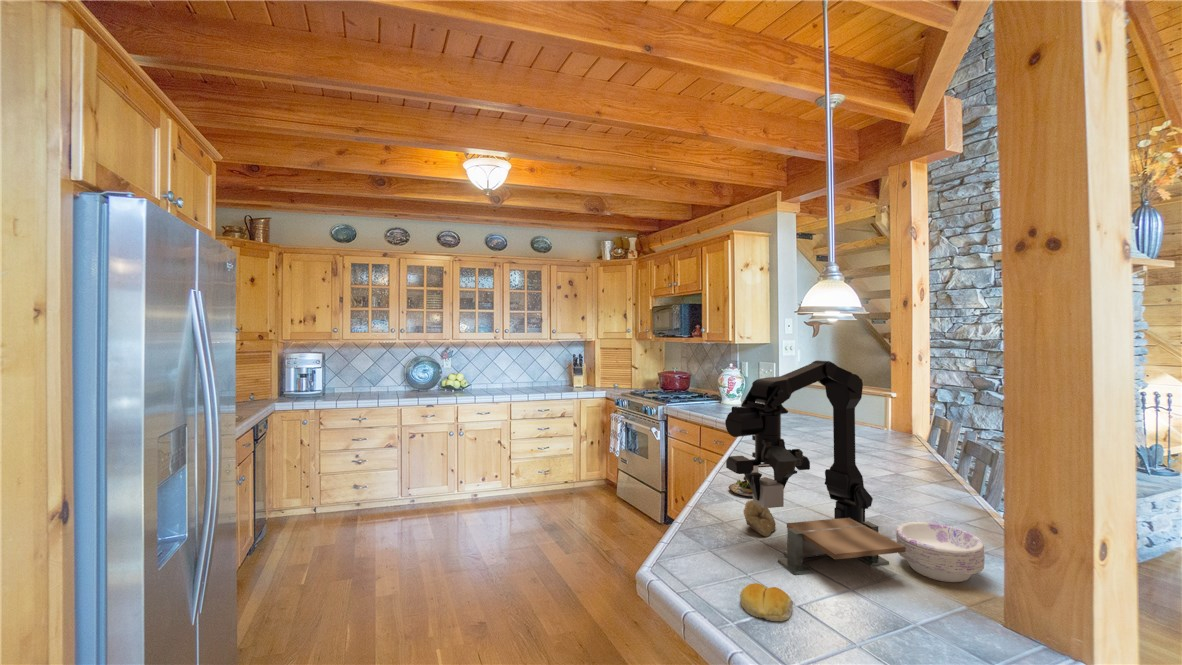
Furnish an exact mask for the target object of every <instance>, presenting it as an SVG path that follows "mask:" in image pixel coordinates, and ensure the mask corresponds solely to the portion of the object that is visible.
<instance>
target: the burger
mask: <svg viewBox="0 0 1182 665" xmlns="http://www.w3.org/2000/svg"><path fill="white" fill-rule="evenodd" d="M742 479H743V480H740V479H738V480H737V481H736V482H735V483H732V484H730V485H729V486H728V489H730V490H731V491H732V492H733V493H734V494H737V495H739V496H744V497H753V492H752V489H751V487H750V484H749V482H748V480H747V478H746V477H745V475H744V476H743V478H742Z"/></svg>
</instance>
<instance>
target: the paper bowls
mask: <svg viewBox="0 0 1182 665" xmlns="http://www.w3.org/2000/svg"><path fill="white" fill-rule="evenodd" d="M895 532H896V533H895V535H896V538H895V539H896V542H897V543H899V544H901V545H903V546H905V547H906V552H900V553H897V554H898V555H899V556H900V557H902V558H903V559H904V560H906V561H907V563H908V565H909V566H910V567H911V568H912V569H913V571H915V572H916V573H918V574H919V575H921V576H924V577H926V578H929V579H932V580H935V581H939V582H946V583H961V582H962V583H963V582H966V581H967V580H968V579H970V578H971V576H972V575H974V574H978V573H980V572H982V571H983V570H984V569H985V558H986V557H985V544H984V542H983V541H982V540H981V539H980V538H979V537H978V536H976V535H974V534H973V533H970V532H969V531H965V530H964V529H960V528H957V527H954V526H950V525H946V524H940V523H934V522H924V521H919V522H918V521H914V522H913V521H912V522H904V523H902V524H900V525H898V526H897V527H896V531H895Z"/></svg>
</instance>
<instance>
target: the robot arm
mask: <svg viewBox="0 0 1182 665" xmlns="http://www.w3.org/2000/svg"><path fill="white" fill-rule="evenodd" d="M817 382H818V383H819V384H820V385H822V386H823V387H824V388H825V394H826V398H827V399H828V401H829V403H830V404H831V406H832V415H833V416H832V420H833V421H832V422H833V424H832V425H833V426H832V427H833V463H832V464H831V466H830V467H829V468H828V469H827V468H826V469H825V470H824V474H825V475H824V476H825V478H824V480H825V481H824V485H826V490H827V492H828V494H829V495H828V496H829V498H830V500H834V501H835V507H834V510H833V512H834V518H833V519H840V518H851V519H853V520H855V521H857V522H858V523H860V524H862V522H866V510H869V508H870V507H872V503H873V499H874V498H873V497H872V496H871V494H870V493H869V492H868V490H867V489H866V488H865V487H864V486H865V483H864V478H863V475H862V473H861V471H860V470H859V468H858V466H857V462H856V407H857V405H858V404H859V403H860V401H861V400H862V396H863V389H864V388H863V387H864V386H863V380H862V378H860V376H859V375H858V374H856V373H852V372H851V371H849V370H847V369H845V368H842V367H840V366H838V365H836V364H835V363H834V362H832V361H830V360H815V361H813V362H811V363H809V364H807V365H805V366H802V367H800V368H797V369H795V370H792V371H790V372H788V373H785V374H782V375H780V376H779V375H778V376H770V377H762V378H757V379H755V380H754V381H753V382H752V384H751V387H750V389H749V391H748V393H747V395H746V396H745V397H744V400H743V401H742V403H741V406H735V405H733V406H731V412H729V413H728V414H727V415H726V419H725V430H726V431H727V433H728V434H729V435H730V437H731V436H732V437H733V438H740V437H747V436H748V437H749V436H752V438H751V439H752V440H753V441H754V452H752V454H751V457H752V458H753V459H750V458H748V457H745V456H744V455H729V456H728V457H727V458H726V460H725V461H726V462H725V467H726V468H727V469H728V470H729V471H731V472H733V473H735V474H737V475H738V474H739V475H744V476H745V477H746V478H747V480H748V482H749V484H750V487H751V489H752V492H753V494H754V497H755V499H756V500H757V501H759V499H760V478H762V477H763V474H762V473H760V472H759V468H772V469H773V480H777V482H778V483H780V484H782V485H784V489H785V488H786V485H787V483H788V481H789V478H791V477H792V476H794V475H796V474H798V472H799V471H805V470H806V471H808V470H810V469H811V462H810V459H809V458H808V456H806V455H804V452H803V451H802V450H801V449H800V448H792V449H791V448H790V449H787V448H786V442H785V439H783V438H782V433H781V432H782V423H781V422H782V420H781V419H782V415H783V414H789V411H788V409H787V408H785V407H784V406H783V404H784V403H785V402H786V401H788V400H789V399H790V398H791V396H792V394H794V393H795V392H796V391H799V390H801V389H803V388H805V387H808V386H811V385H812V384H815V383H817ZM796 469H797V470H796Z"/></svg>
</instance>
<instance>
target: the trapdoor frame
mask: <svg viewBox="0 0 1182 665" xmlns="http://www.w3.org/2000/svg"><path fill="white" fill-rule="evenodd" d="M862 525H865V526H866V527H868V528H870V529H872V530H874V531H876V532H878V533H879V526H878V524H877V525H876V524H875V523H872V522H870V521H867V520H865V522H862ZM786 533H787V536H786V539H787V542H786V544H787V547H786V548H787V550H786V551H783V557H784V558H779V559H778V558H777V563H778V564H779V565H780V566H782V567H784V569H786V570H787V571H788V572H789V573H791V574H792V575H794V576H797V575H805V574H813V573H814V570H813V569H812V567H811V568H810V567H809V565H807V564H805V563H804V562H803V558H804V559H805V558H813V557H815V558H816V557H824V556H829V555H828V554H822V555H812V556H803V557H802V548H803V533H801V532H799V531H798V530H796V529H795V528H787V531H786ZM856 558H858V559H859V560H860V561H862V562H864V563H866V564H867V565H869V566H870V567H879V566H887V565H890V561H889V560H887V559H885V558H883V557H882V556H880V555H872V556H862V557H856Z"/></svg>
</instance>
